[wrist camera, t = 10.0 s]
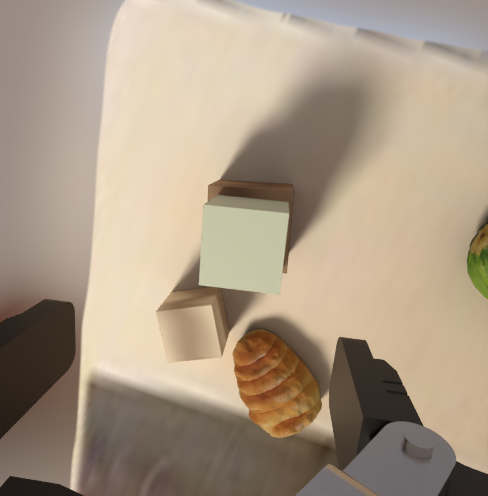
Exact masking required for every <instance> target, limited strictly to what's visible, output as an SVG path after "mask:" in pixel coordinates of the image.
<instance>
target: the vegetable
mask: <svg viewBox="0 0 488 496" xmlns="http://www.w3.org/2000/svg"><path fill="white" fill-rule="evenodd" d="M467 267H468V274H469V276H470V278H471V280H472V282H473V284H474V286H475V287H476V288H477V289H478V290H479V291H480V292H481V293H482V295H483V296H484V297H485V298H487V299H488V222H487V224H485V225H484V226H483V227H481V228H480V229H479V231H478V233H477V234H476V236H475V237H474V238H473V239H472V241H471V243H470V250H469V252H468V258H467Z"/></svg>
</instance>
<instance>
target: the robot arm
mask: <svg viewBox="0 0 488 496" xmlns="http://www.w3.org/2000/svg"><path fill="white" fill-rule="evenodd" d="M75 348H76V347H75V310H74V306H73V304H72V303H71V302H66V301H58V300H50V299H44V300H42V301H41V302H39V303H38V304H36V305H35V306H33V307H31V308H30V309H28V310H27V311H25V312H23V313H21V314H19V315H16V316H13V317H10V318H7V319H5V320H4V321H2V322H0V439H1V437H3V436H4V435H5V434H6V432H8V431H9V429H10V428H11V427H12V426H13V425H14V424H15V423H16V422H17V421H18V420H19V419H20V418H21V417H22V416H23V415H24V414H25V413H26V412H27V411H28V410H29V409H30V408H31V407H32V406H33V405H34V404H35V403H36V402H37V401H38V400H39V399H40V398H41V397H42V396H43V395H44V394H45V393H46V392H47V391H48V390H49V389H50V388H51V387H52V386H53V385H54V384H55V383H56V382H57V381H58V380H59V379H60V378H61V376H63V374H65V373H66V372H67V371H68V369H69V368H70V366H71V364H72V362H73V360H74V356H75ZM329 408H330V414H331V420H332V426H333V432H334V438H335V445H336V451H337V457H338V463H339V468H338V467H336V466H335V465H333V464H329V465H327V466H325V467H324V468H323V469H322V470H321V471H320V472H319V473H318V474H317V475H316V476H315V477H314V478H313V479H312V480H311V481H310V482H309V483H308V484H307V485H306V486H305V487H304V488H303V489H302V490H301V491H300V492H299V493H298V494H297V495H296V496H488V474H486V473H483V472H480V471H478V470H475V469H472V468H470V467H467V466H465V465H463V464H461V463H459V462H457V461H456V456H455V453H454V451H453V449H452V447H451V446H450V445H449V444H448V443H447V442H446V440H444V439H443V438H442V437H441V436H440V435H438V434H437V433H435V432H434V431H432V430H430V429H428V428H426V427H424V426H423V424H422V422H421V420H420V418H419V416H418V414H417V412H416V410H415V408H414V406H413V404H412V402H411V400H410V398H409V396H407V391H406V389H405V387H404V385H402V381H401V379H400V377H399V375H398V373H397V371H396V370H395V369H394V368H392V367H391V366H390V365H389V364H388V363H387V362H386V361H385V360H381V359H373V356H372V354H371V351H370V349H369V347H368V344H367V342H366V340H359V339H352V338H344V337H339V338H338V341H337V346H336V352H335V358H334V364H333V370H332V376H331V382H330V390H329ZM0 496H83V495H81V494H79V493H77V492H75V491H73V490H71V489H69V488H66V487H64V486H62V485H60V484H54V483H49V482H42V481H37V480H30V479H25V478H18V477H13V476H10V477H9V478H8V479H7V480H6V481H5V483H4V484H3V485H2V486H1V487H0Z"/></svg>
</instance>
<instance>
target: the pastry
mask: <svg viewBox="0 0 488 496" xmlns="http://www.w3.org/2000/svg"><path fill="white" fill-rule="evenodd" d="M233 357H234V363H235V368H234V372H235V375H236V378H237V384H238V388H239V395H240V397H241V399H242V401H243V402H244V403H245V405H246V406H247V407H248V408H249V417H250V418H251V420H252V421H253V422H254V423H256V424H258V425H260V426H261V427H262V428H263V429H264V430H265V431H266V432H268V433H270V434H271V436H273V437H277V438H280V437H286V436H290V435H292V434H296V433H299V432H300V431H301V430H302V429H303V428H304V427H306V426H308V425H309V424H311V423H312V422H313V421H314V419H315V418H316V416H317V414H318V413H319V411H320V410H321V407H322V402H321V399H320V394H319V385H318V383H317V381H316V380H315V378H314V377H313V375H312V373H311V372H310V370H309V369H308V368H307V367H306V366H305V364H304V363H303V362H302V361H301V359H300V358H299V357H298V356H297V355H296V354H295V353H294V352H293V351H292V350H291V349H290V348H289V347H288V346H287V345H286V344H285V343H284V342H283V341H282V340H281V339H280V338H279V337H278V336H277V335H275V334H273V333H271V332H269V331H267V330H264V329H256V330H254V331H251V332H248V333H247V334H246V335H245V336H244V337H243V338H241V339H240V340H239V341H238V342H237V344H236V347H235V349H234V351H233Z"/></svg>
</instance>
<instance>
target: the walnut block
mask: <svg viewBox="0 0 488 496" xmlns="http://www.w3.org/2000/svg"><path fill="white" fill-rule="evenodd" d="M217 195H224V196H234V197H244V198H254V199H264V200H274V201H284V202H289V220H288V228H287V237H286V245H285V254H284V262H283V271H282V273H287V266H288V254H289V242H290V230H291V218H292V207H293V195H294V189H293V185H292V184H276V183H260V182H244V181H228V180H218V181H216V182H214V183H212V184H210V185H208V201H210V200H211V199H212V198H214V197H215V196H217Z"/></svg>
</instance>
